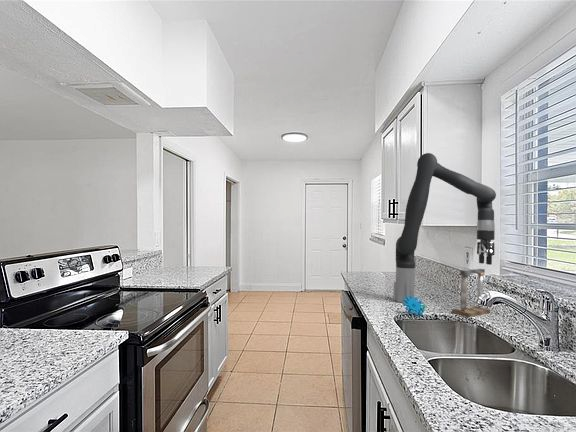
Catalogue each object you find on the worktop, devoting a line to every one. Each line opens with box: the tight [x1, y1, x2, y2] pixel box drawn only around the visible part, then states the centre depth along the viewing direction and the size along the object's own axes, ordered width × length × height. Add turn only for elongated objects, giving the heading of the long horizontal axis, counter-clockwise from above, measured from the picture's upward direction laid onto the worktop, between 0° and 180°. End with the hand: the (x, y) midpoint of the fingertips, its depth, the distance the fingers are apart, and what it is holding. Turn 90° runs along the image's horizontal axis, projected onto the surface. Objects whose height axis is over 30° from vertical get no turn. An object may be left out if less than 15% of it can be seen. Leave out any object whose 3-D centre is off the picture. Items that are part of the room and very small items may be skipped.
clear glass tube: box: [476, 273, 485, 307], centre depth 173 cm, size 3×3×16 cm
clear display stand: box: [451, 268, 491, 318], centre depth 169 cm, size 17×8×19 cm, turn 123°
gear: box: [402, 295, 427, 317], centre depth 166 cm, size 11×6×10 cm
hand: (485, 263), depth 178 cm, fingers open, 8 cm apart
